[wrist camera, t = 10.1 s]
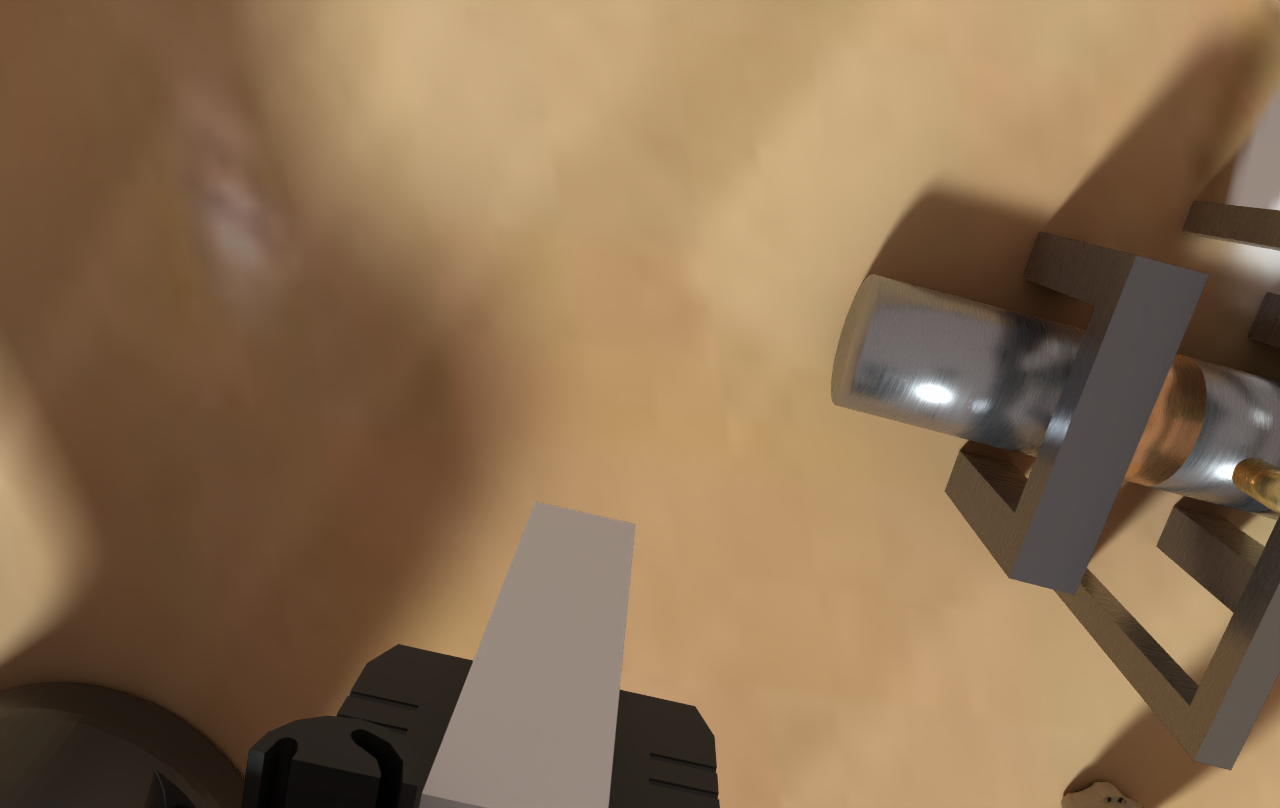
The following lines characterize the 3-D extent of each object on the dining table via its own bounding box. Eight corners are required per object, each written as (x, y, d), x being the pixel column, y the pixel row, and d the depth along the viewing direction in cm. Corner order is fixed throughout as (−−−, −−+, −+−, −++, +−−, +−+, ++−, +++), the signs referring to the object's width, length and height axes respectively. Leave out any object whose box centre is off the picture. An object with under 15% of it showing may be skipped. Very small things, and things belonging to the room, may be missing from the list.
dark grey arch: (944, 491, 35) (1008, 578, 28) (1039, 231, 32) (1136, 255, 25) (997, 505, 35) (1075, 595, 28) (1097, 246, 32) (1209, 274, 25)
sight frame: (1042, 575, 35) (1193, 761, 25) (1194, 201, 32) (1449, 229, 21) (1068, 582, 35) (1231, 770, 25) (1223, 208, 32) (1493, 241, 21)
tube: (824, 385, 34) (843, 422, 30) (862, 265, 33) (888, 285, 28) (1310, 512, 34) (1397, 565, 30) (1366, 397, 33) (1465, 436, 29)
